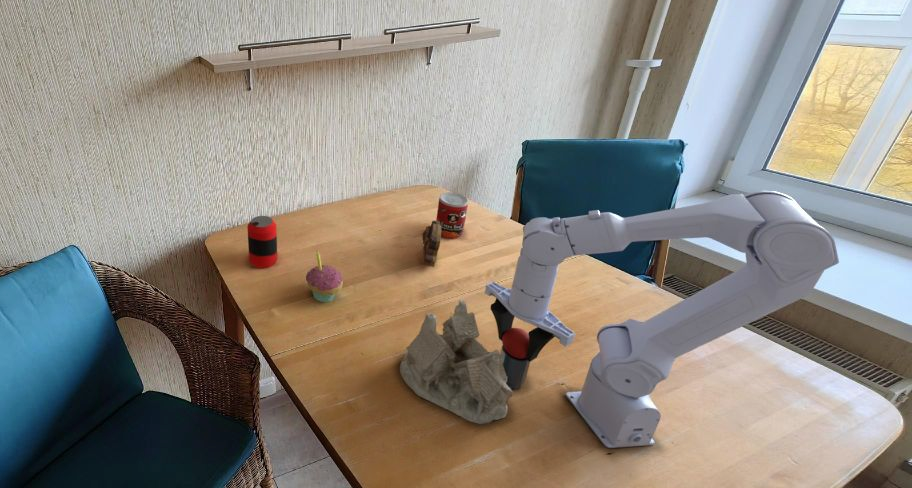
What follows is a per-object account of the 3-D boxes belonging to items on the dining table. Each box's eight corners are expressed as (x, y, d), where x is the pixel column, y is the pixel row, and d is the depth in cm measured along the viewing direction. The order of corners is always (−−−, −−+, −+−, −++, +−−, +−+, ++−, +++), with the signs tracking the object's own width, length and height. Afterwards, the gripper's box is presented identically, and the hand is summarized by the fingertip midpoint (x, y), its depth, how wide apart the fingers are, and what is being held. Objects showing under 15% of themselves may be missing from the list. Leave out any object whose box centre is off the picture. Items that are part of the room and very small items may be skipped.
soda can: (243, 258, 115) (241, 220, 111) (266, 248, 119) (264, 210, 115) (260, 272, 109) (258, 232, 105) (282, 261, 114) (282, 222, 109)
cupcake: (300, 300, 99) (300, 257, 95) (314, 279, 106) (315, 238, 102) (335, 312, 95) (337, 268, 91) (347, 289, 102) (349, 247, 98)
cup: (529, 388, 77) (537, 361, 74) (505, 389, 77) (511, 362, 74) (514, 366, 81) (521, 340, 79) (491, 368, 81) (497, 342, 79)
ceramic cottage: (391, 353, 84) (403, 295, 78) (470, 347, 86) (487, 291, 80) (424, 433, 70) (441, 371, 64) (517, 425, 72) (543, 364, 66)
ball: (537, 358, 76) (543, 336, 74) (519, 369, 74) (525, 347, 72) (511, 338, 80) (516, 318, 78) (493, 349, 78) (498, 328, 76)
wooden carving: (417, 240, 121) (421, 209, 118) (434, 242, 120) (438, 211, 117) (421, 276, 106) (425, 242, 103) (440, 278, 105) (445, 244, 102)
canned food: (435, 237, 122) (440, 203, 118) (434, 223, 130) (438, 190, 126) (464, 241, 120) (470, 206, 116) (461, 226, 127) (466, 193, 123)
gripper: (593, 304, 67) (572, 368, 72) (507, 256, 79) (495, 314, 84) (567, 320, 64) (548, 386, 69) (482, 268, 76) (471, 327, 81)
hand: (517, 347), depth 76 cm, fingers closed on ball, 5 cm apart
